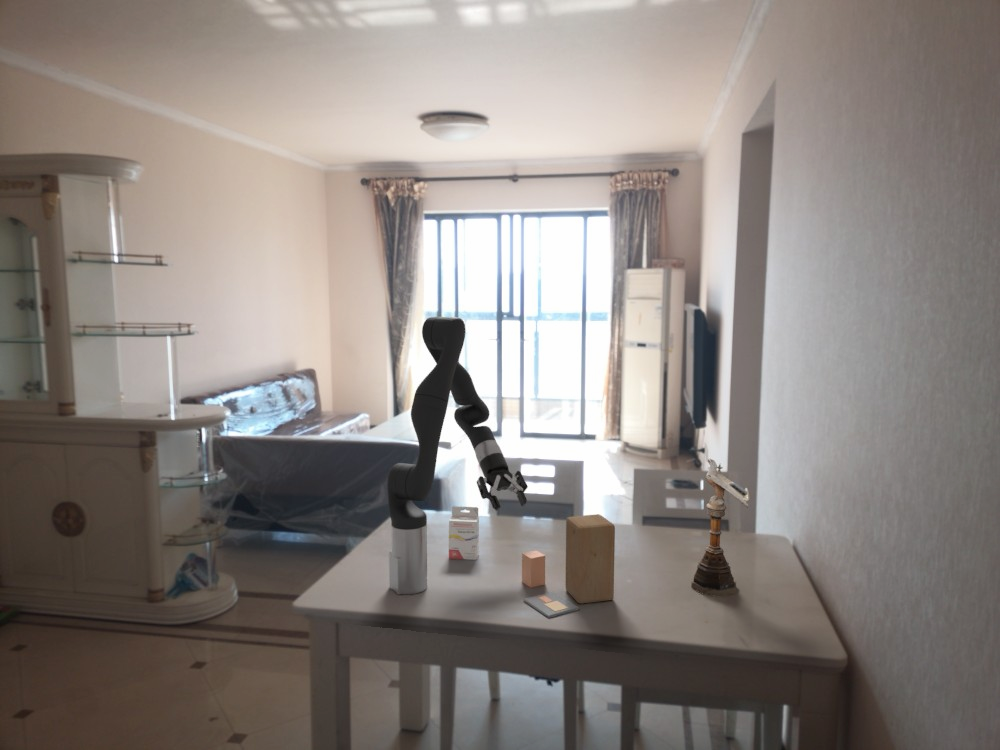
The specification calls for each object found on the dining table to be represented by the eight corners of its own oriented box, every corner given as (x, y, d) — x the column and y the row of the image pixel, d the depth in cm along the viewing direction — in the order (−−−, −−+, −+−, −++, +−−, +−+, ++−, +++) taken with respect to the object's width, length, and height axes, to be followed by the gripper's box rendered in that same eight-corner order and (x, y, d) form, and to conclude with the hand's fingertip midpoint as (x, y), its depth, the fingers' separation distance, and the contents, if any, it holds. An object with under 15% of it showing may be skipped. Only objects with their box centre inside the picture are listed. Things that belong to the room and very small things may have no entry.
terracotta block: (531, 587, 185) (531, 558, 184) (521, 581, 189) (522, 553, 188) (545, 584, 188) (545, 555, 187) (535, 578, 191) (536, 550, 191)
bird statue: (756, 582, 189) (761, 455, 185) (756, 601, 177) (761, 466, 173) (693, 574, 195) (697, 450, 191) (688, 592, 182) (692, 460, 179)
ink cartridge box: (448, 559, 206) (448, 510, 204) (451, 553, 211) (450, 505, 209) (477, 560, 205) (477, 511, 204) (479, 554, 210) (479, 506, 208)
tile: (548, 617, 167) (548, 615, 167) (523, 601, 177) (523, 598, 177) (578, 609, 172) (578, 606, 172) (553, 593, 181) (553, 591, 181)
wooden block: (578, 605, 174) (579, 527, 172) (564, 589, 184) (564, 515, 182) (615, 601, 177) (616, 524, 175) (599, 585, 187) (600, 512, 184)
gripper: (474, 454, 199) (494, 503, 190) (516, 449, 206) (537, 496, 197) (465, 469, 204) (484, 517, 195) (506, 463, 211) (527, 509, 202)
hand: (511, 506), depth 196 cm, fingers open, 8 cm apart
